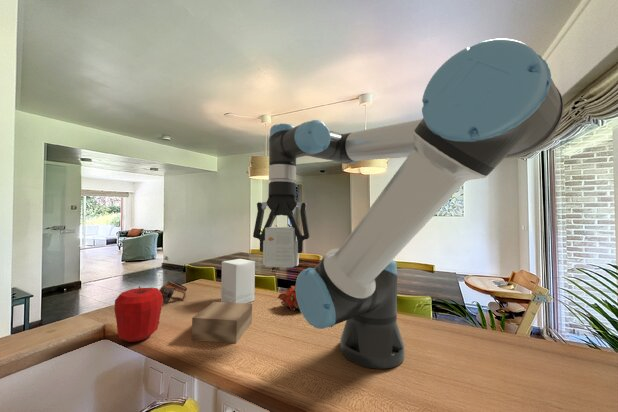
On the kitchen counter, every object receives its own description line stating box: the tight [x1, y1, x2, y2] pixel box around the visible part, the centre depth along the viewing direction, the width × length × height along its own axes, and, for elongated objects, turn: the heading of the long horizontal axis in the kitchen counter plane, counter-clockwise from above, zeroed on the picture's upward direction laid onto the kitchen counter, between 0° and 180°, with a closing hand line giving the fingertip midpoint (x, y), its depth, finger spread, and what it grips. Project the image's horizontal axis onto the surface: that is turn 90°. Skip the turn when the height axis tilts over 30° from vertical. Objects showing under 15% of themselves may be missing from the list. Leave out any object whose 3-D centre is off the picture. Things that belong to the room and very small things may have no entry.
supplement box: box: [220, 258, 256, 304], centre depth 95 cm, size 9×9×15 cm
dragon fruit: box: [277, 285, 300, 311], centre depth 89 cm, size 8×8×12 cm
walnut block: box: [191, 301, 253, 344], centre depth 72 cm, size 12×12×6 cm
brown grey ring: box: [158, 280, 188, 304], centre depth 94 cm, size 12×10×8 cm
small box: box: [264, 226, 298, 268], centre depth 70 cm, size 8×6×10 cm
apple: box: [114, 285, 164, 343], centre depth 67 cm, size 10×10×14 cm
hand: (281, 264), depth 70 cm, fingers closed on small box, 8 cm apart
